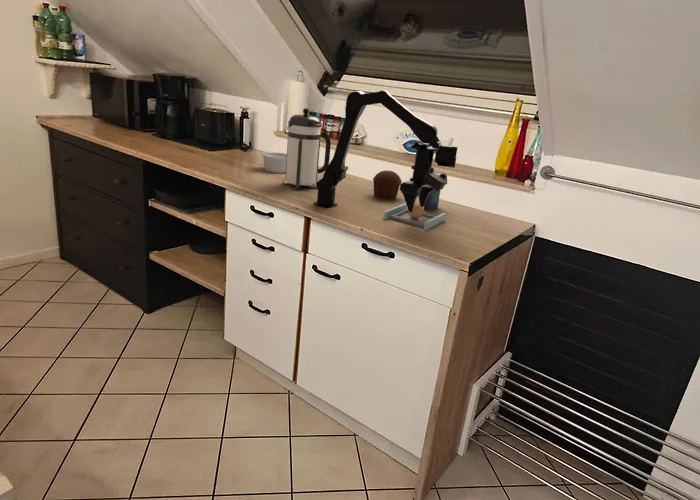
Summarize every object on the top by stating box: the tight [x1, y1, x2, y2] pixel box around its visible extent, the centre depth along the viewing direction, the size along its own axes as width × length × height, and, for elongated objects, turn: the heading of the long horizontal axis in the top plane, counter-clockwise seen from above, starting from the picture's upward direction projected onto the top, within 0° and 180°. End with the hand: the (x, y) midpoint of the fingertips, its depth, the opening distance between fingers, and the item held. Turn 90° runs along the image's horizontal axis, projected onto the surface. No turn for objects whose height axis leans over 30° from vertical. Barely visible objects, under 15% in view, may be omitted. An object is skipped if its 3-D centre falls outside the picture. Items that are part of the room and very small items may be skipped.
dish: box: [390, 208, 437, 228], centre depth 168 cm, size 12×12×1 cm
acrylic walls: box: [382, 203, 447, 231], centre depth 168 cm, size 16×16×2 cm
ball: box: [408, 203, 424, 219], centre depth 167 cm, size 5×5×5 cm
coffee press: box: [282, 107, 332, 191], centre depth 192 cm, size 17×16×30 cm
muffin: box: [372, 169, 403, 200], centre depth 193 cm, size 12×11×10 cm
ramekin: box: [262, 151, 287, 174], centre depth 218 cm, size 13×13×7 cm
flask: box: [423, 189, 441, 212], centre depth 183 cm, size 9×3×11 cm, turn 144°
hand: (416, 209), depth 167 cm, fingers open, 9 cm apart
